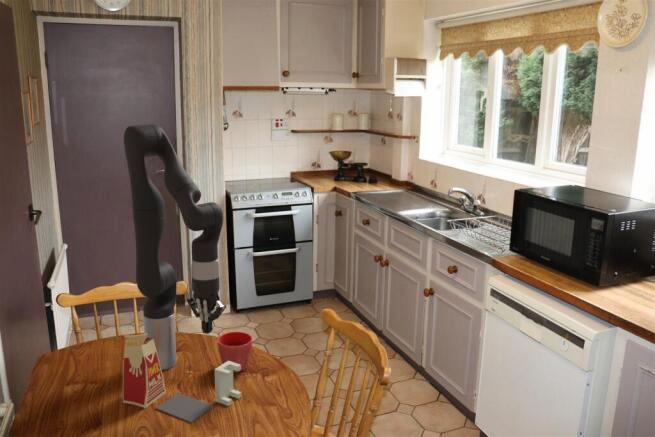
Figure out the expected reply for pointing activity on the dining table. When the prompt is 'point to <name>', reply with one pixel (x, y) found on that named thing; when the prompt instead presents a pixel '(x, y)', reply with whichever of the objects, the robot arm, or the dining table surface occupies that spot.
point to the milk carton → (141, 372)
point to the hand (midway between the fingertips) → (207, 332)
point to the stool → (226, 383)
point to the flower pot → (235, 348)
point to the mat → (184, 407)
